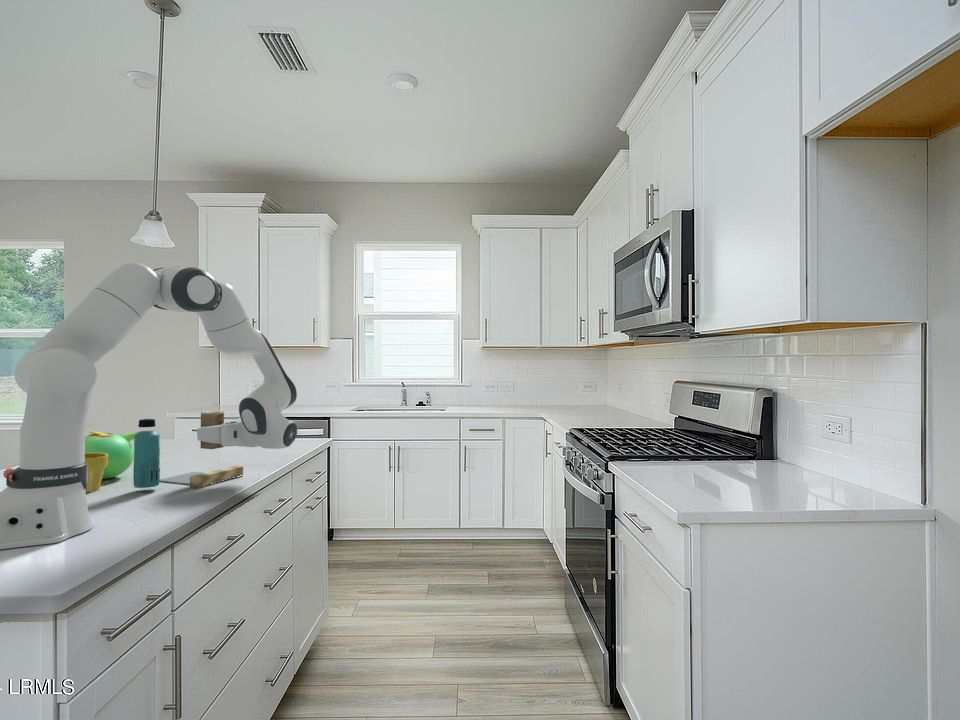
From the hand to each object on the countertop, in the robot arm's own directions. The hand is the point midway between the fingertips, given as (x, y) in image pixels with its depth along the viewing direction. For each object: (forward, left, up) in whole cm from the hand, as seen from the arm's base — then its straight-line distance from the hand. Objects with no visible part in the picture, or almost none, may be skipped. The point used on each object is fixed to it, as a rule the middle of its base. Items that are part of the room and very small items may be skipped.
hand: (209, 429), depth 172 cm
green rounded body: (-24, +22, -16) cm, 36 cm away
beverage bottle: (-17, -4, -16) cm, 24 cm away
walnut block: (0, -1, -5) cm, 6 cm away
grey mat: (-3, +5, -15) cm, 17 cm away
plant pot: (-30, +6, -16) cm, 35 cm away
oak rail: (+2, -3, -15) cm, 16 cm away
